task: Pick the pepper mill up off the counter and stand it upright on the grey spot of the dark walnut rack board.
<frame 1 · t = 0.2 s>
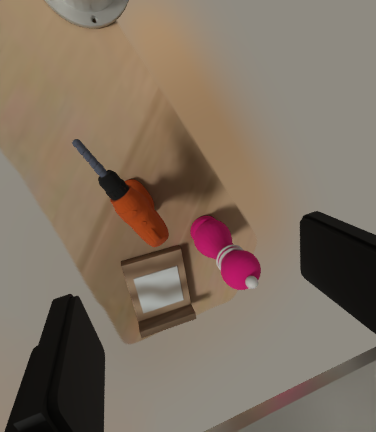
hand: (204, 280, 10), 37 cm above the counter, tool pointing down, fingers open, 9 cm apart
toy drill: (120, 178, 44), on the counter
pepper mill: (204, 228, 52), on the counter
rack board: (158, 284, 53), on the counter
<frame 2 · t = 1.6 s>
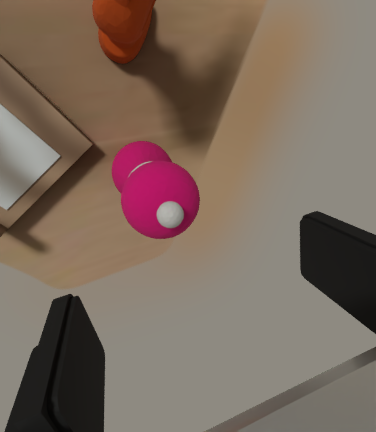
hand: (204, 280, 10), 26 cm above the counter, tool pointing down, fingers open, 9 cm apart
pepper mill: (139, 166, 33), on the counter
rack board: (2, 152, 28), on the counter
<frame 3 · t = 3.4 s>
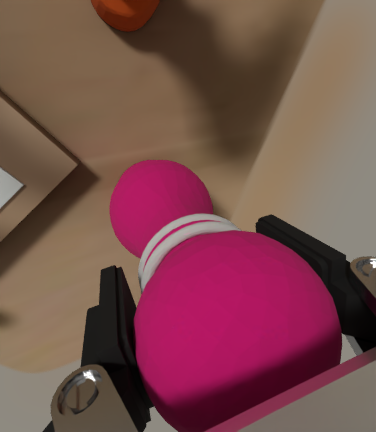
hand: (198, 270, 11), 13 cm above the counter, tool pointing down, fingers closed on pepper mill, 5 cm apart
pepper mill: (151, 194, 22), on the counter, touching gripper
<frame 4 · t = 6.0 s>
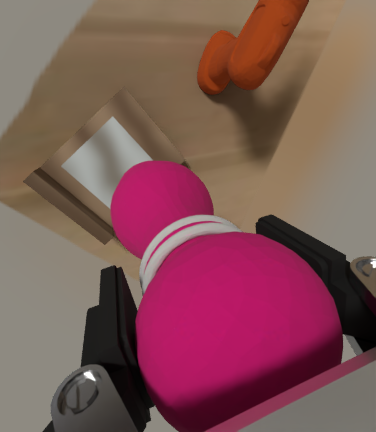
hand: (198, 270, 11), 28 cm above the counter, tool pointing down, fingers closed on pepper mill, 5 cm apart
toy drill: (230, 32, 33), on the counter
pepper mill: (152, 195, 22), point 15 cm above the counter, touching gripper
rack board: (113, 165, 35), on the counter
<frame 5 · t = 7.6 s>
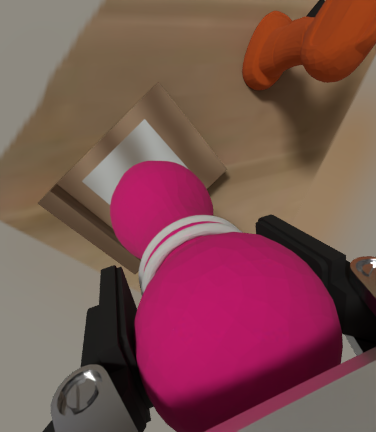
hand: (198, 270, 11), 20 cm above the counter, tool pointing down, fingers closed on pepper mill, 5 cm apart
toy drill: (282, 13, 27), on the counter
pepper mill: (152, 195, 22), point 8 cm above the counter, touching gripper
rack board: (142, 177, 29), on the counter
when the fingers open (16 cm above the counter, at t = 8.9 s): pepper mill drops 1 cm, resting on rack board.
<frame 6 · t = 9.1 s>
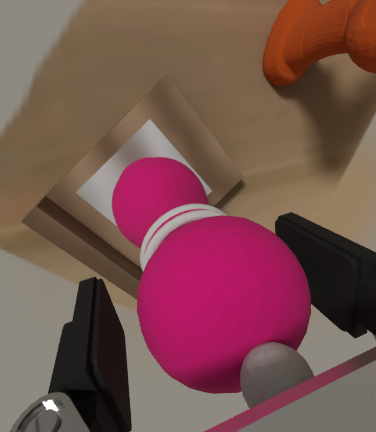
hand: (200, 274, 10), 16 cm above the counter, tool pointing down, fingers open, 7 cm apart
pepper mill: (150, 190, 23), point 2 cm above the counter, touching rack board
rack board: (146, 186, 25), on the counter
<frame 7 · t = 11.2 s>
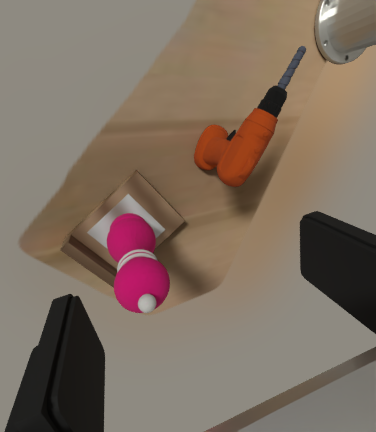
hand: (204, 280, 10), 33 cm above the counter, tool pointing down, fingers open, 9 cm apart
toy drill: (220, 123, 42), on the counter
pepper mill: (128, 230, 41), point 2 cm above the counter, touching rack board
rack board: (127, 226, 43), on the counter
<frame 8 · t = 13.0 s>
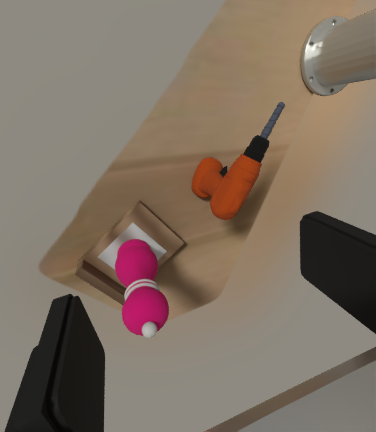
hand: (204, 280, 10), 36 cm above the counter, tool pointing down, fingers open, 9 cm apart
toy drill: (214, 155, 47), on the counter
pepper mill: (134, 253, 46), point 2 cm above the counter, touching rack board
rack board: (132, 249, 48), on the counter
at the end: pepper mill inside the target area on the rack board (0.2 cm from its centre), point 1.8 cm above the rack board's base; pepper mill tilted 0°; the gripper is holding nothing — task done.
